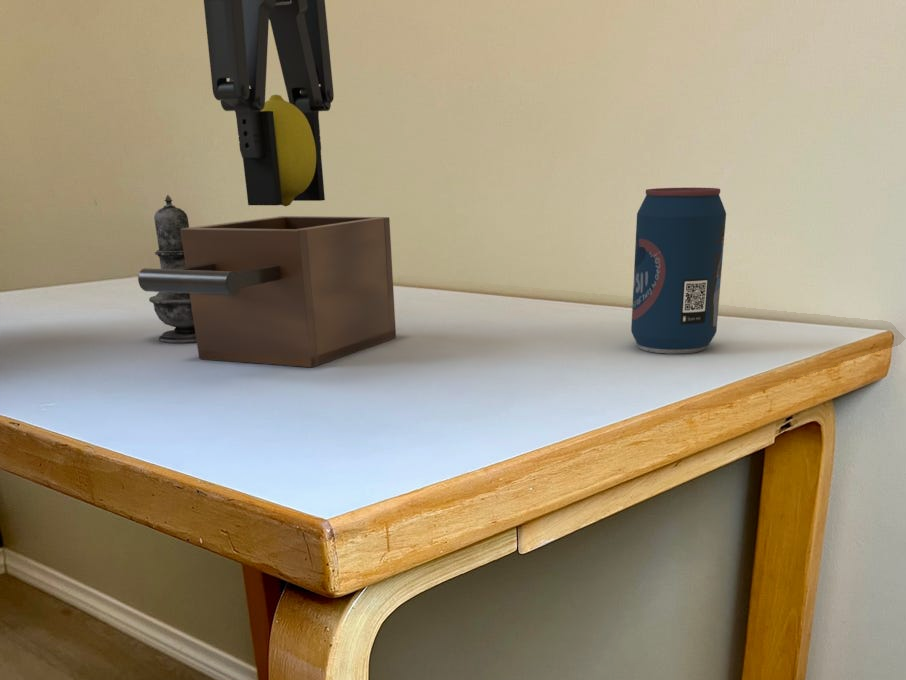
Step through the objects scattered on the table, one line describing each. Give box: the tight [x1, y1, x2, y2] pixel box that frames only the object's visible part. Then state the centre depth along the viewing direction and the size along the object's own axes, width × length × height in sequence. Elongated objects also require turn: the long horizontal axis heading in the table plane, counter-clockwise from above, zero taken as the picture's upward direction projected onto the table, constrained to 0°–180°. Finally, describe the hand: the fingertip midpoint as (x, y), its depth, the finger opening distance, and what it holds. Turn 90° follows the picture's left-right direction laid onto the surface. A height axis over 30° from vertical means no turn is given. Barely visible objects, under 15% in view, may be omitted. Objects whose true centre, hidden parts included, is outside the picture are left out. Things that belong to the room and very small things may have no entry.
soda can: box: [630, 187, 727, 355], centre depth 81 cm, size 7×7×12 cm
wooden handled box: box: [137, 215, 397, 368], centre depth 82 cm, size 21×11×10 cm, turn 156°
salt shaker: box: [148, 194, 197, 344], centre depth 90 cm, size 6×6×12 cm
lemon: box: [260, 94, 316, 207], centre depth 80 cm, size 6×6×8 cm
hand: (287, 202), depth 82 cm, fingers closed on lemon, 5 cm apart
